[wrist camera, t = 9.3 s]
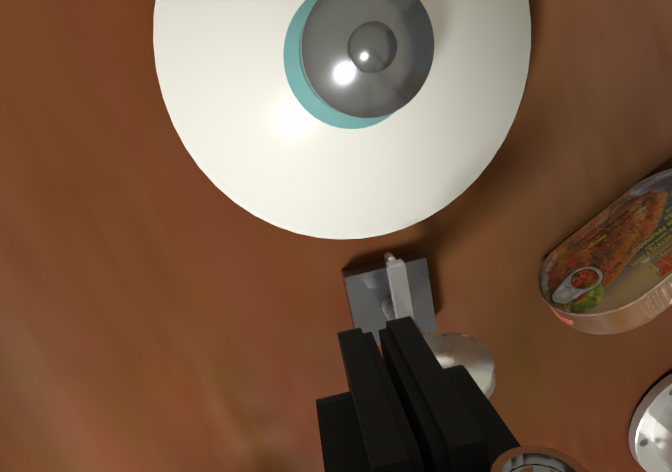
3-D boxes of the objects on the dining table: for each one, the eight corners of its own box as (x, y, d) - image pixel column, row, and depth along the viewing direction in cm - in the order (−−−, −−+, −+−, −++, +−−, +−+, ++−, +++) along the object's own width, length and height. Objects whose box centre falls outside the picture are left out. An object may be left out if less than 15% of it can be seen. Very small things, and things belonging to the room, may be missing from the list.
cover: (410, -24, 26) (433, -43, 22) (423, 104, 28) (447, 106, 25) (287, -5, 25) (290, -20, 22) (310, 125, 28) (317, 130, 24)
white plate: (491, -175, 27) (518, -208, 24) (518, 187, 34) (541, 196, 31) (110, -109, 25) (90, -135, 22) (221, 258, 32) (217, 275, 29)
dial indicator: (416, 228, 34) (519, 321, 20) (430, 321, 36) (530, 460, 23) (336, 247, 33) (386, 356, 20) (356, 340, 36) (412, 494, 22)
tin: (673, 153, 35) (793, 171, 27) (689, 184, 36) (809, 210, 28) (514, 277, 36) (584, 329, 28) (534, 304, 37) (607, 362, 29)
